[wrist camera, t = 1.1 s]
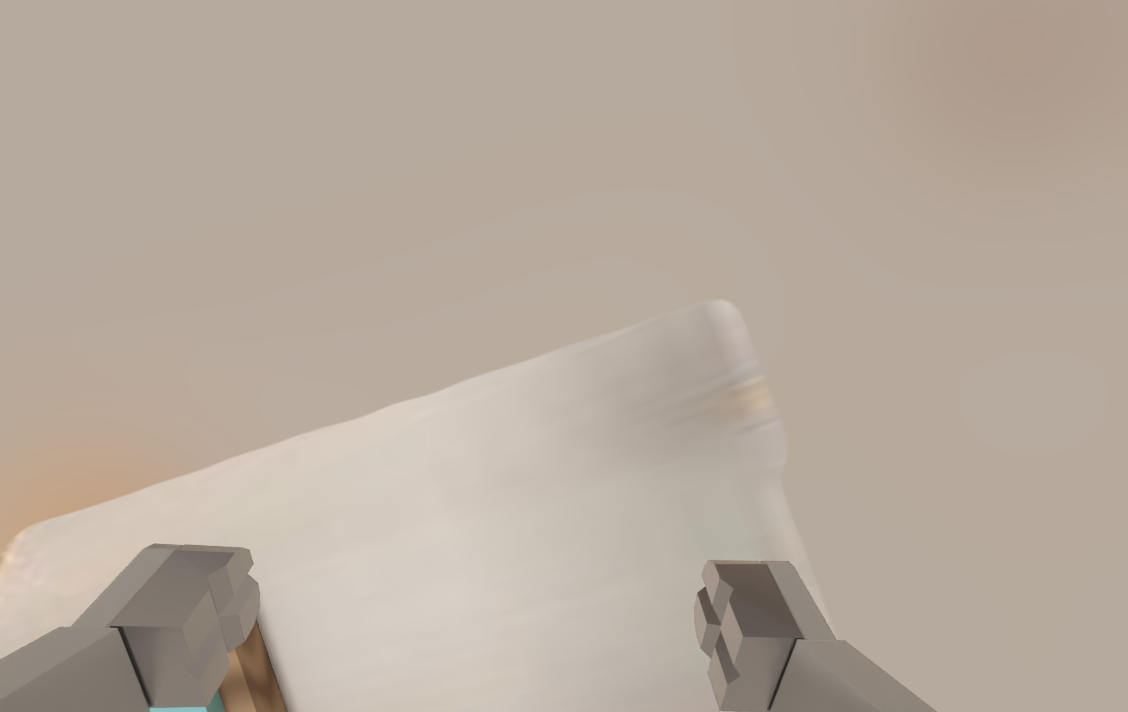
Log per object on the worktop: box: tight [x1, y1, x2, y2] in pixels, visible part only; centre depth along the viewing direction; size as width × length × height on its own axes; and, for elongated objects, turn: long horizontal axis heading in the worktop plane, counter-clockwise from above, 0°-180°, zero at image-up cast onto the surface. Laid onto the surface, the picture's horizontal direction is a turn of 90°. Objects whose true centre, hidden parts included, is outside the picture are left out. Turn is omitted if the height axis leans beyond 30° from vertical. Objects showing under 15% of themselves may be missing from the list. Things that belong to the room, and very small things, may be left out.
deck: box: [218, 620, 287, 712], centre depth 55 cm, size 18×12×4 cm, turn 17°
